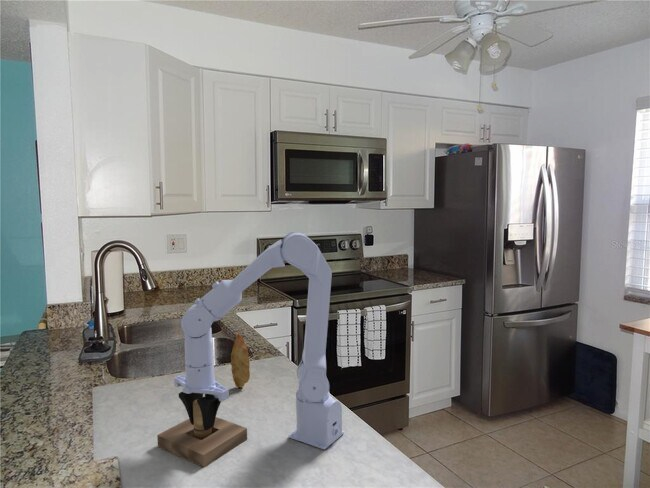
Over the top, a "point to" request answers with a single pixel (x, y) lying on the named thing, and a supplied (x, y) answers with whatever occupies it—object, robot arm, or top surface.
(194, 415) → the dowel
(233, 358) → the stone tool
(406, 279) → the top surface
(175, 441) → the board
